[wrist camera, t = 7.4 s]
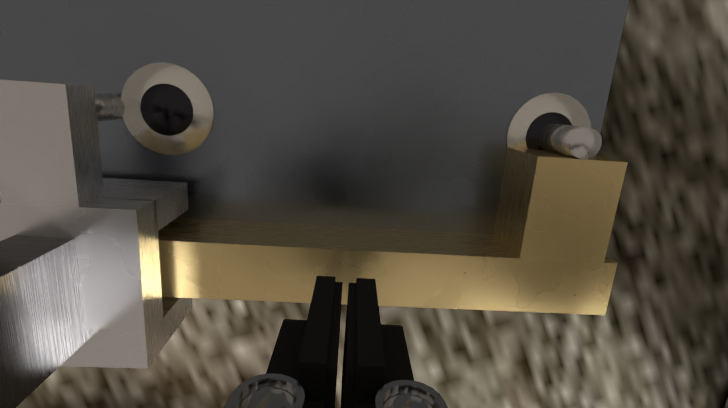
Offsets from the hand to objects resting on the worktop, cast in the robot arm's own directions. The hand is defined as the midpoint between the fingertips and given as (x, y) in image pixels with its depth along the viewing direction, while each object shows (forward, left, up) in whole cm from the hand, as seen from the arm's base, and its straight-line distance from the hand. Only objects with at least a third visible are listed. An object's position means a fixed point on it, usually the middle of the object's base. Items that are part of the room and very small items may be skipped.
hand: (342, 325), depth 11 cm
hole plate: (+2, -4, -6) cm, 7 cm away
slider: (+8, -2, -4) cm, 10 cm away
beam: (+2, -3, -5) cm, 6 cm away
